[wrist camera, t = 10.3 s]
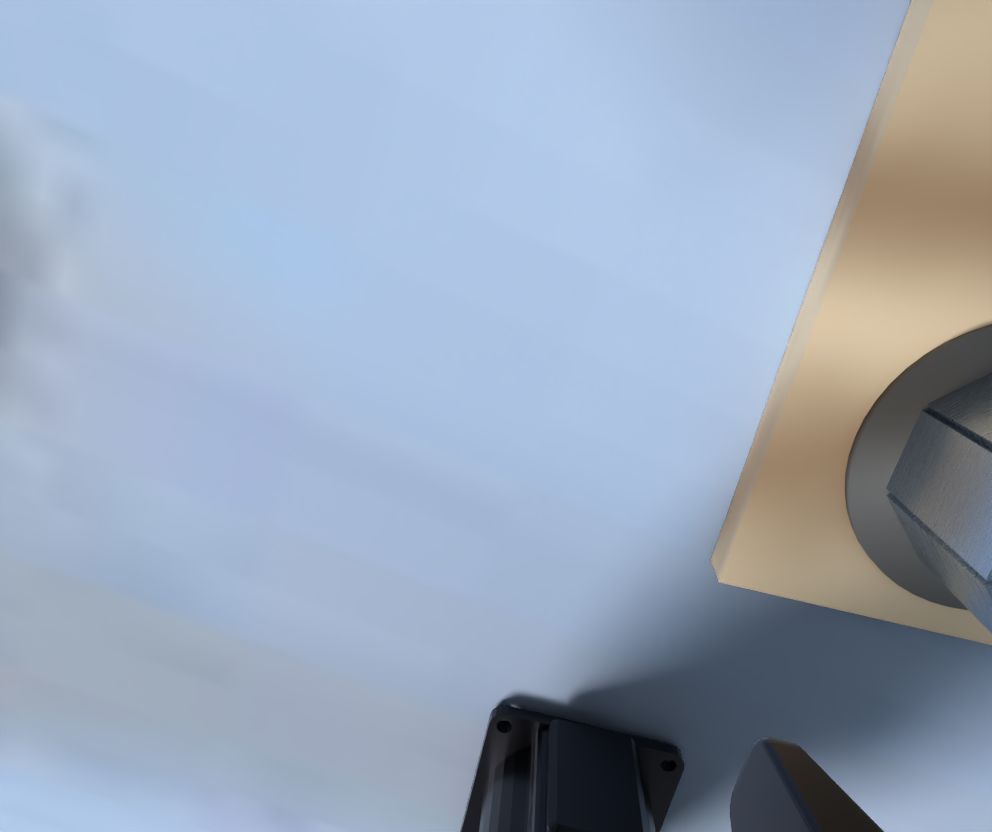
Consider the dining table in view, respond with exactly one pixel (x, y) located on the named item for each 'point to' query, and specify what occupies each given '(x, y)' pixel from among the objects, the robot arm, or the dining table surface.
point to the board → (880, 341)
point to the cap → (951, 493)
